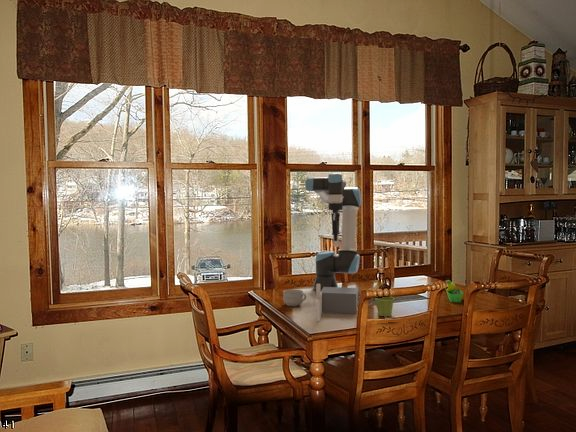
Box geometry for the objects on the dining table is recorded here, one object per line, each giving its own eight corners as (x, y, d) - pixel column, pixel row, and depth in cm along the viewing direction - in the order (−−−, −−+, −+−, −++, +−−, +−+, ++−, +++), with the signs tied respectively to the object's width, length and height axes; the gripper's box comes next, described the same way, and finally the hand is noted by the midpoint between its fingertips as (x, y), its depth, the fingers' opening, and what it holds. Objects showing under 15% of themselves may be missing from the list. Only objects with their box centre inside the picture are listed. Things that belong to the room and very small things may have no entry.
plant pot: (373, 313, 231) (373, 296, 230) (391, 312, 232) (391, 295, 231) (378, 318, 222) (377, 300, 221) (397, 317, 222) (397, 300, 222)
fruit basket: (463, 303, 249) (463, 282, 248) (446, 302, 251) (446, 281, 250) (460, 298, 260) (460, 278, 259) (443, 297, 262) (443, 277, 261)
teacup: (279, 305, 250) (278, 290, 249) (294, 301, 257) (294, 287, 256) (296, 310, 239) (295, 294, 239) (311, 306, 246) (311, 291, 246)
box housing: (323, 305, 248) (323, 286, 247) (357, 306, 244) (357, 287, 244) (320, 312, 234) (320, 292, 233) (356, 313, 230) (356, 293, 230)
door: (323, 311, 233) (322, 278, 233) (320, 321, 217) (319, 285, 216) (319, 311, 234) (318, 278, 233) (316, 321, 217) (315, 285, 216)
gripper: (340, 203, 239) (341, 248, 241) (344, 201, 251) (344, 245, 253) (326, 203, 240) (327, 248, 242) (330, 202, 253) (330, 244, 255)
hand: (336, 246), depth 248 cm, fingers closed
